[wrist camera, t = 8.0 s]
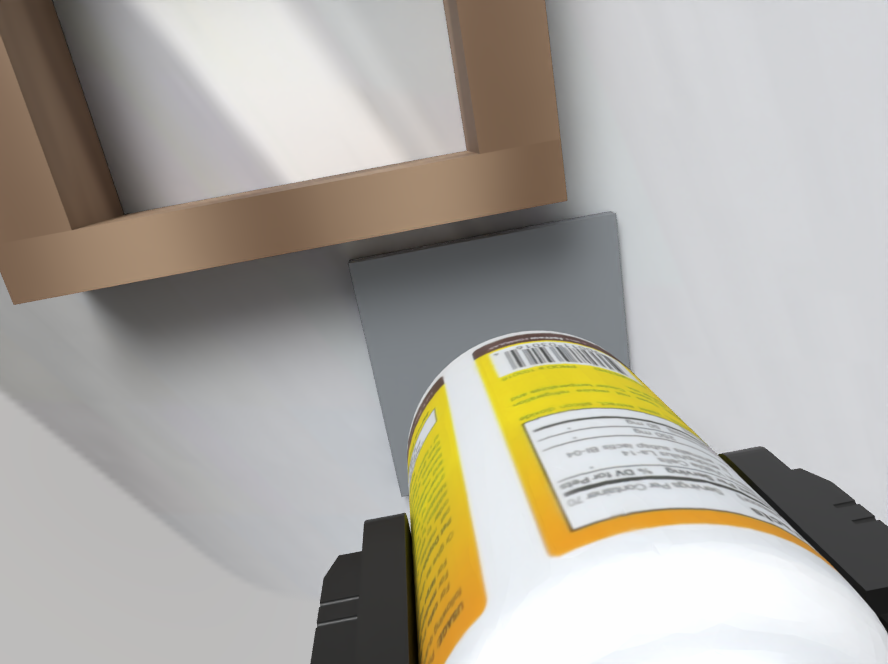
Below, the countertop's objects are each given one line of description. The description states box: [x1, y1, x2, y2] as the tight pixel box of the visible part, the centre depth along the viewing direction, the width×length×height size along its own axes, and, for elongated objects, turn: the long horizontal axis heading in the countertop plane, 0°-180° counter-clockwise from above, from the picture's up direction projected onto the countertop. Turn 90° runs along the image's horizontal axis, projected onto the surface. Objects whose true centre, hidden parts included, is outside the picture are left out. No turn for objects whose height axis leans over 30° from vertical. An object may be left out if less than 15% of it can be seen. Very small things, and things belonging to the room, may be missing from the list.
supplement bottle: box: [407, 331, 888, 664], centre depth 10 cm, size 6×6×10 cm
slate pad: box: [348, 211, 630, 497], centre depth 20 cm, size 8×8×1 cm
